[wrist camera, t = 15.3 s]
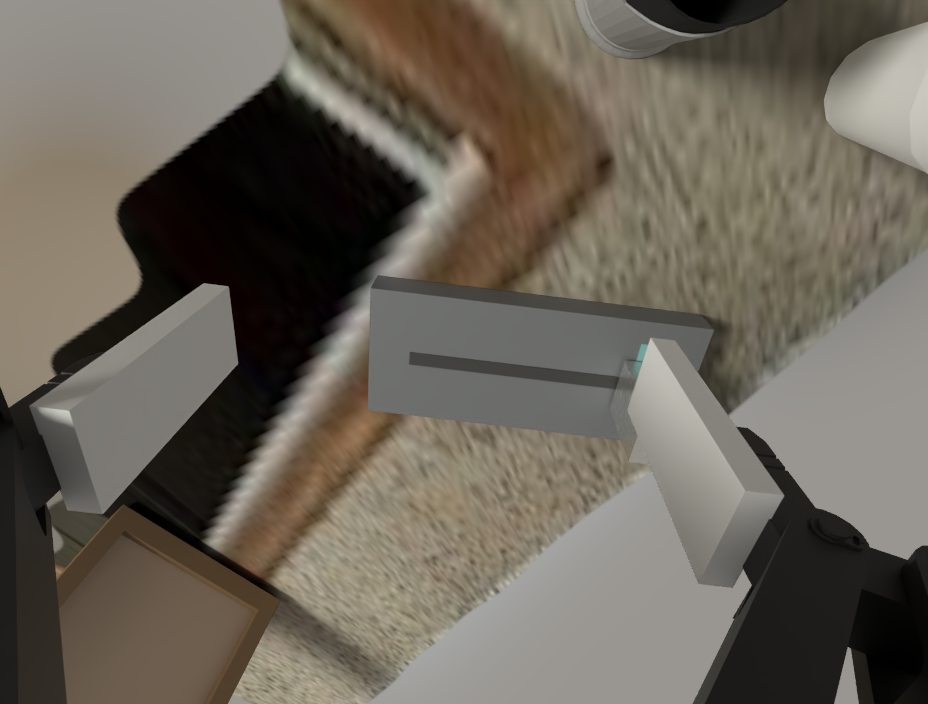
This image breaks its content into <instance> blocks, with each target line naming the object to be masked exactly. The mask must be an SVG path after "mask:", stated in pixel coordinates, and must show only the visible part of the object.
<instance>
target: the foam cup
mask: <svg viewBox="0 0 928 704" xmlns="http://www.w3.org/2000/svg"><path fill="white" fill-rule="evenodd" d="M824 107H825V115H826V120H827V122H828V123H829V124H830V125H831V127H832V128H833V129H834V130H835V131H836V133H837V134H840V135H842V136H843V137H846V138H848V139H850V140H852V141H855V142H857V143H859V144H862V145H864V146H866V147H869V148H871V149H873V150H875V151H878V152H880V153H882V154H885V155H887V156H889V157H892V158H894V159H896V160H898V161H901V162H903V163H905V164H908V165H910V166H912V167H915V168H917V169H919V170H921V171H924V172H926V173H927V174H928V22H925V23H922V24H919V25H916V26H913V27H910V28H906V29H903V30H900V31H897V32H894V33H891V34H887V35H884V36H881V37H878V38H875V39H874V40H869V41H868V42H866V43H865V44H863V45H862V46H860V47H859V48H857V49H856V50H855V51H853V52H852V53H850V54H849V55H847V56H846V58H845V59H844V60H843V62H842V63H841V64H840V66H839V67H838V68H837V70H836V71H835V72H834V74H833V75H832V76H831V78H830V81H829V85H828V88H827V91H826V94H825V97H824Z"/></svg>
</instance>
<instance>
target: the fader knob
mask: <svg viewBox="0 0 928 704" xmlns="http://www.w3.org/2000/svg"><path fill="white" fill-rule="evenodd" d="M642 363H643V362H637V361H629V360H624V363H623V366H622V370H621V373H620V376H619V380H618V383H617V386H616V390H615V393H614V396H613V399H612V403H611V406H610V411H611V414H612V417H613V420H614V423H615V425H616V428H617V431H618V434H619V437H620V439H621V442H622V445H623V448H624V451H625V453H626V456H627V459H628V462H634V463H642V464H649V462H648V460H647V457H646V455H645V452H644V450H643V448H642V445H641V443H640V440H639V438H638V435H637V433H636V430H635V428H634V426H633V423H632V421H631V418H630V416H629V413H628V411H627V409H628V406H629V403H630V400H631V397H632V394H633V391H634V388H635V384H636V381H637V378H638V375H639V372H640V369H641V366H642Z"/></svg>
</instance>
